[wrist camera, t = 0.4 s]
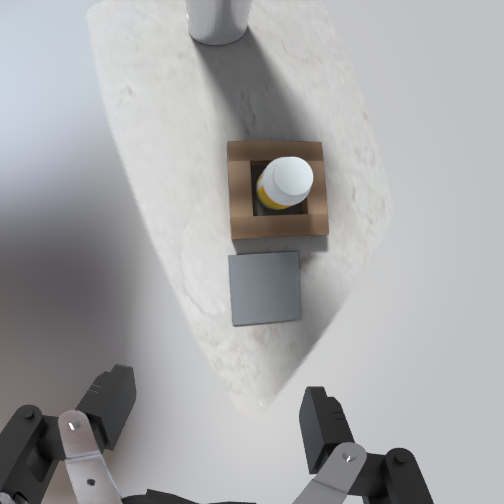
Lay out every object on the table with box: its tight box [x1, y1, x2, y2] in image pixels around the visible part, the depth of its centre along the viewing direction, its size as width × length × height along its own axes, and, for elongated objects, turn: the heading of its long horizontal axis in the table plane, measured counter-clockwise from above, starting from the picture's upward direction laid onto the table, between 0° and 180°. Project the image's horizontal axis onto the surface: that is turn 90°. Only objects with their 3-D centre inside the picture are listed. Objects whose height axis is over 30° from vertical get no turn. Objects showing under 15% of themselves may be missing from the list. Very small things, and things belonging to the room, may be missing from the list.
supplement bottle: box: [256, 157, 313, 210], centre depth 32 cm, size 5×5×10 cm
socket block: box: [227, 141, 329, 239], centre depth 36 cm, size 12×12×2 cm
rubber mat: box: [228, 251, 301, 325], centre depth 37 cm, size 9×9×1 cm
